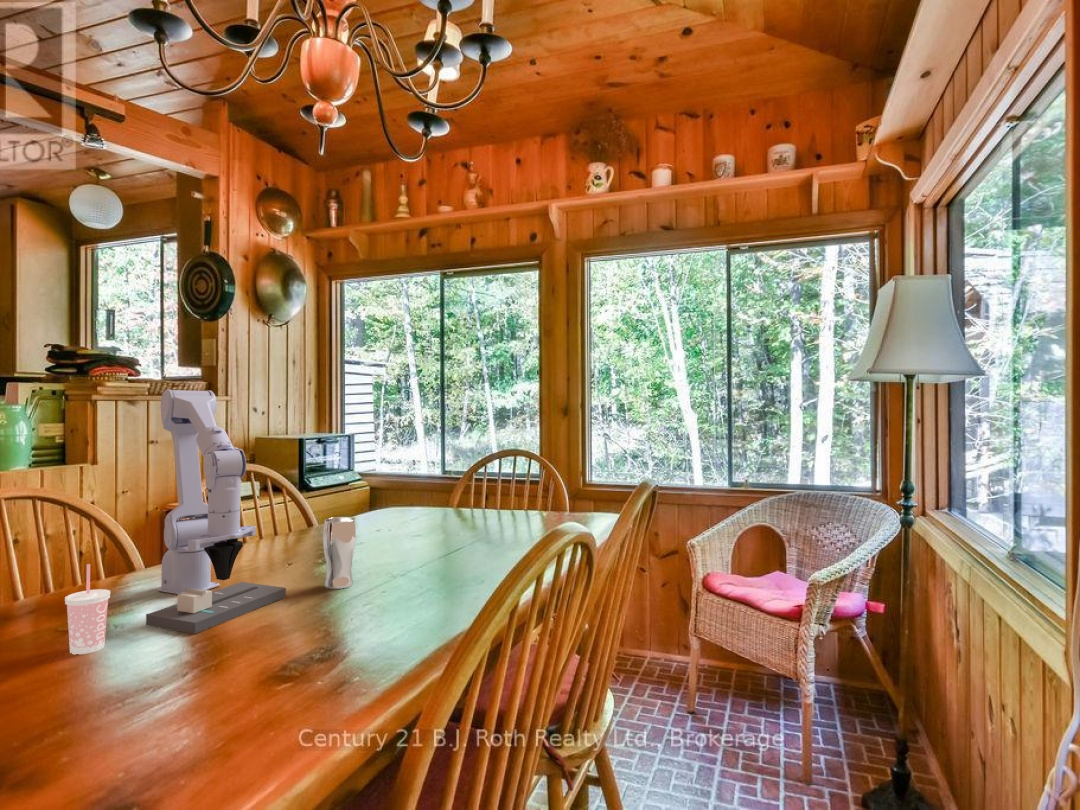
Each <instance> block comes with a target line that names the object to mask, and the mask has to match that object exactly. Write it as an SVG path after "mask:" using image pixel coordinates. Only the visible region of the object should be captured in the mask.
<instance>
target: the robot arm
mask: <svg viewBox="0 0 1080 810" xmlns="http://www.w3.org/2000/svg"><path fill="white" fill-rule="evenodd" d="M160 399H161V400H160V416H161V424H162V428H163V429H164V430H165V431H167V432H170V434H171V438H172V444H173V445H172V447H173V456H174V457H173V459H174V469H175V478H176V479H175V480H176V492H177V503H178V504H177V506H176V507H174V508H173V509H172V510H170V511H169V512H168V513H167V515H166V516H165V519H164V529H163V541H164V544H165V547H166V548H167V549H168V550H167V551H166V552H165V553H164V554H163V557H162V560H161V581H160V582H161V584H160V585H161V586H160V587H158V588H157V591H158V592H164V593H169V594H176V595H178V594H181V593H184V589H186V588H194V589H203V590H211V589H214V588H217V587H219V586H221V583H219V582H213V581H212V582H211V579H212V578H211V576H212V574H211V572H212V569H211V568H212V566H213V571H214V573H215V577H216V580H220V581H226V580H230V578H231V574H232V571H233V568H234V564H235V561H236V560H237V558H238V555H239V553H240V551H241V549H242V548H243V547H244V541H243V540H242V541H241V540H239V539H243V538H247V537H254V536H256V535H257V532H256V531H257V525H245V526H241V487H242V485H241V483H242V482H241V480H242V478H243V477H245V474H246V472H247V458H246V455H245V452H244V450H243V449H242V448H238V446H237V447H235V446H234V445H233V444H232V440H231V439H230V438H229V436H228V434H227V432H226V430H225V429H224V428H222V427H221V426H218V425H217V423H216V418H215V417H214V415H215V414H216V411H217V396H216V394H215V393H214V391H212V390H190V389H189V390H187V389H186V390H183V389H182V390H181V389H178V390H177V389H168V388H167V389H165V390H164V391H163V392H162V394H161V398H160ZM199 451H200V452H201V455H202V457H203V459H204V460H203V473H204V479H205V489H207V503H206V502H204V497H203V485H202V475H201V466H200V455H199V454H200V453H199Z"/></svg>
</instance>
